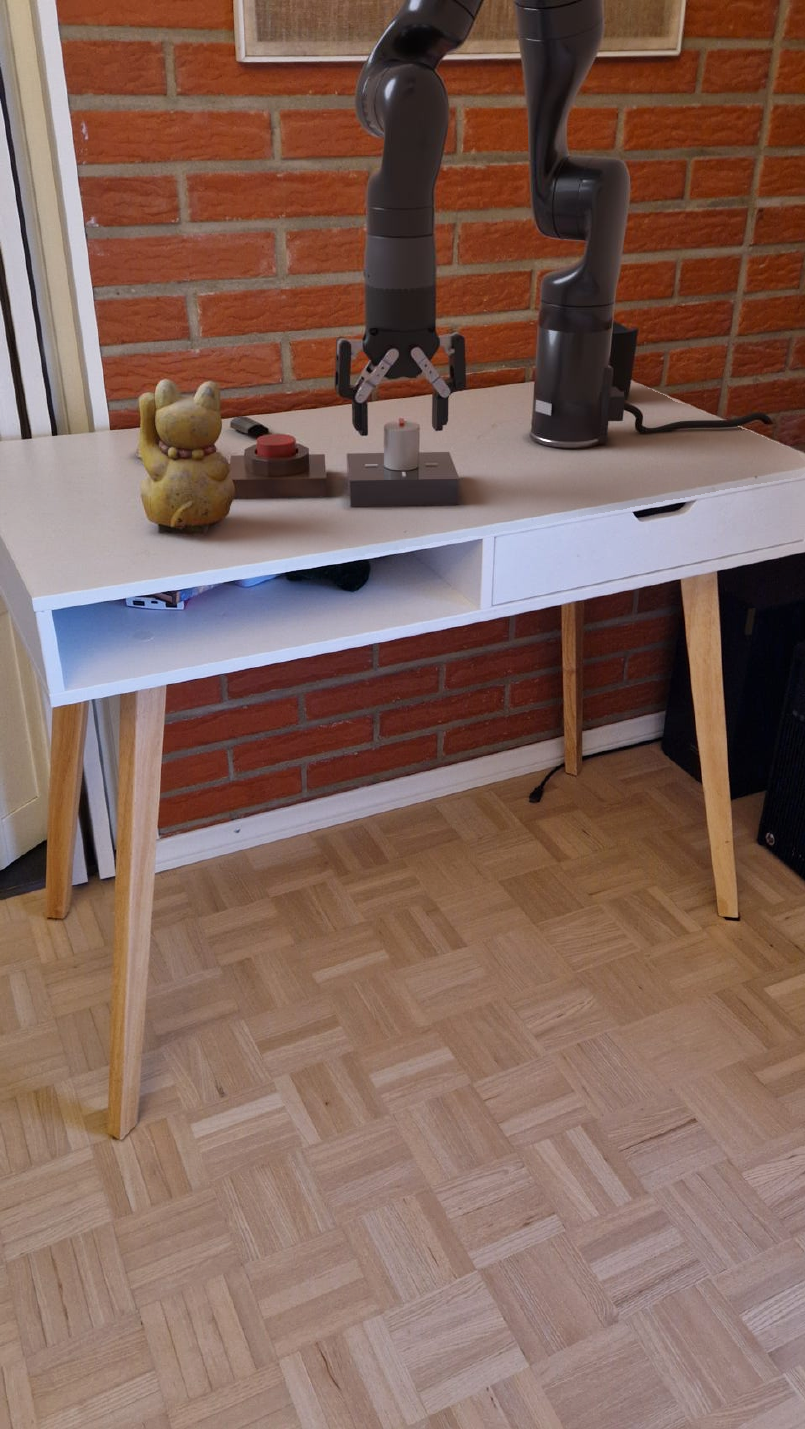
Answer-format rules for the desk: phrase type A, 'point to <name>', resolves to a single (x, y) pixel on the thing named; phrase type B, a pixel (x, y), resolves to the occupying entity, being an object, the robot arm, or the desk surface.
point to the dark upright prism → (622, 356)
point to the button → (276, 445)
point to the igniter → (278, 475)
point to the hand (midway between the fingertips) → (400, 431)
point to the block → (248, 426)
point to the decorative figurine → (183, 459)
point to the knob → (401, 445)
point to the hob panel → (402, 481)
